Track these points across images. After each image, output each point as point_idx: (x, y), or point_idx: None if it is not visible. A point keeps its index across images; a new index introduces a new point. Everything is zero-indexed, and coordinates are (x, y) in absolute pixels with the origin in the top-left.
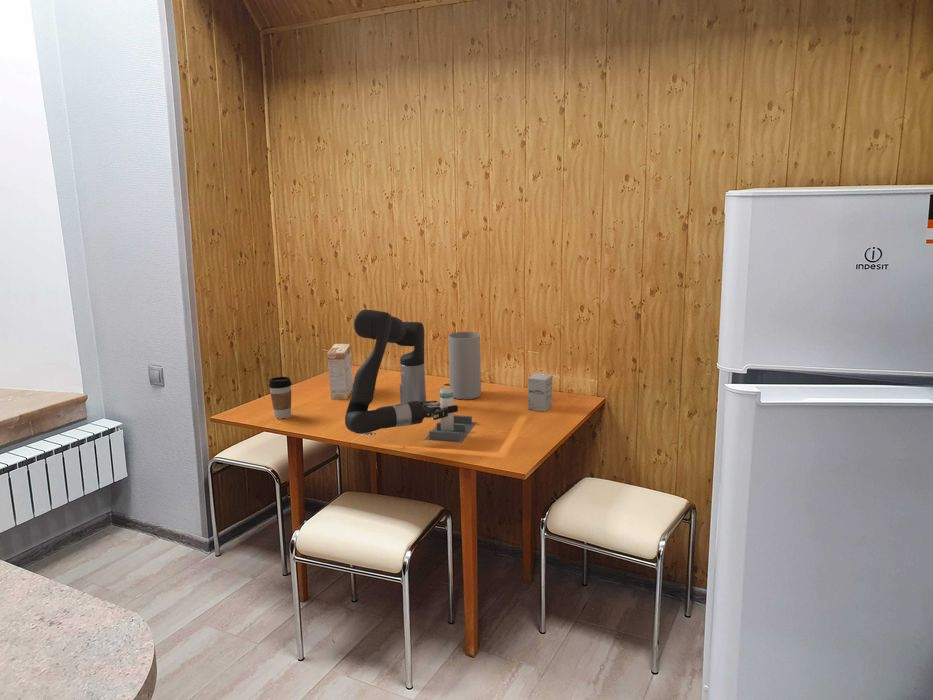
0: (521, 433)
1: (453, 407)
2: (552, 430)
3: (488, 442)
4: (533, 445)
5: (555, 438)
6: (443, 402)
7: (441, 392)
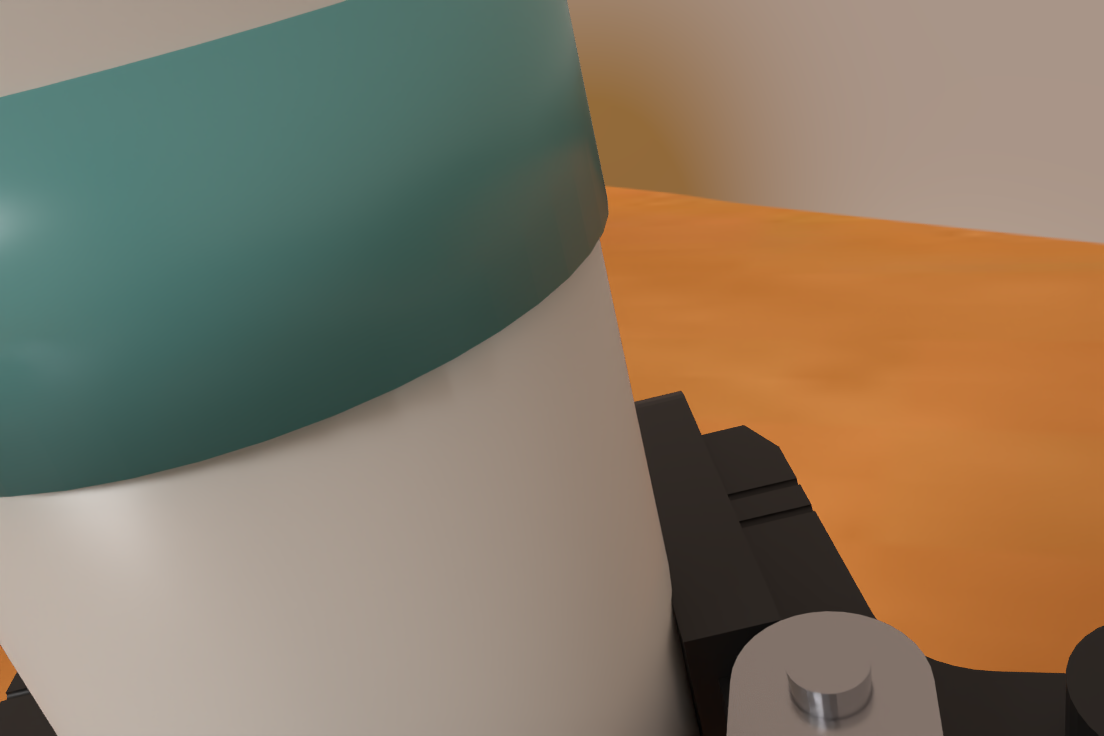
0: (726, 369)
1: (741, 491)
2: (723, 246)
3: (965, 620)
4: (1084, 314)
5: (907, 232)
6: (541, 595)
7: (166, 7)
